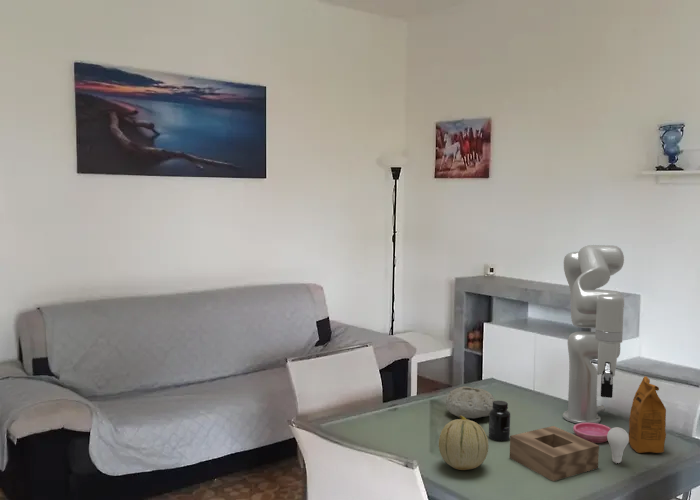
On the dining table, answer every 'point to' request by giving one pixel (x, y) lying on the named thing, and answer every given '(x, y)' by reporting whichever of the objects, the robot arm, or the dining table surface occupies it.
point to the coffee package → (647, 420)
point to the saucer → (592, 432)
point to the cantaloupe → (463, 444)
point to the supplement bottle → (499, 421)
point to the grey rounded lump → (469, 402)
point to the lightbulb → (617, 442)
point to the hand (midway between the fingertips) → (606, 392)
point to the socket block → (554, 452)
